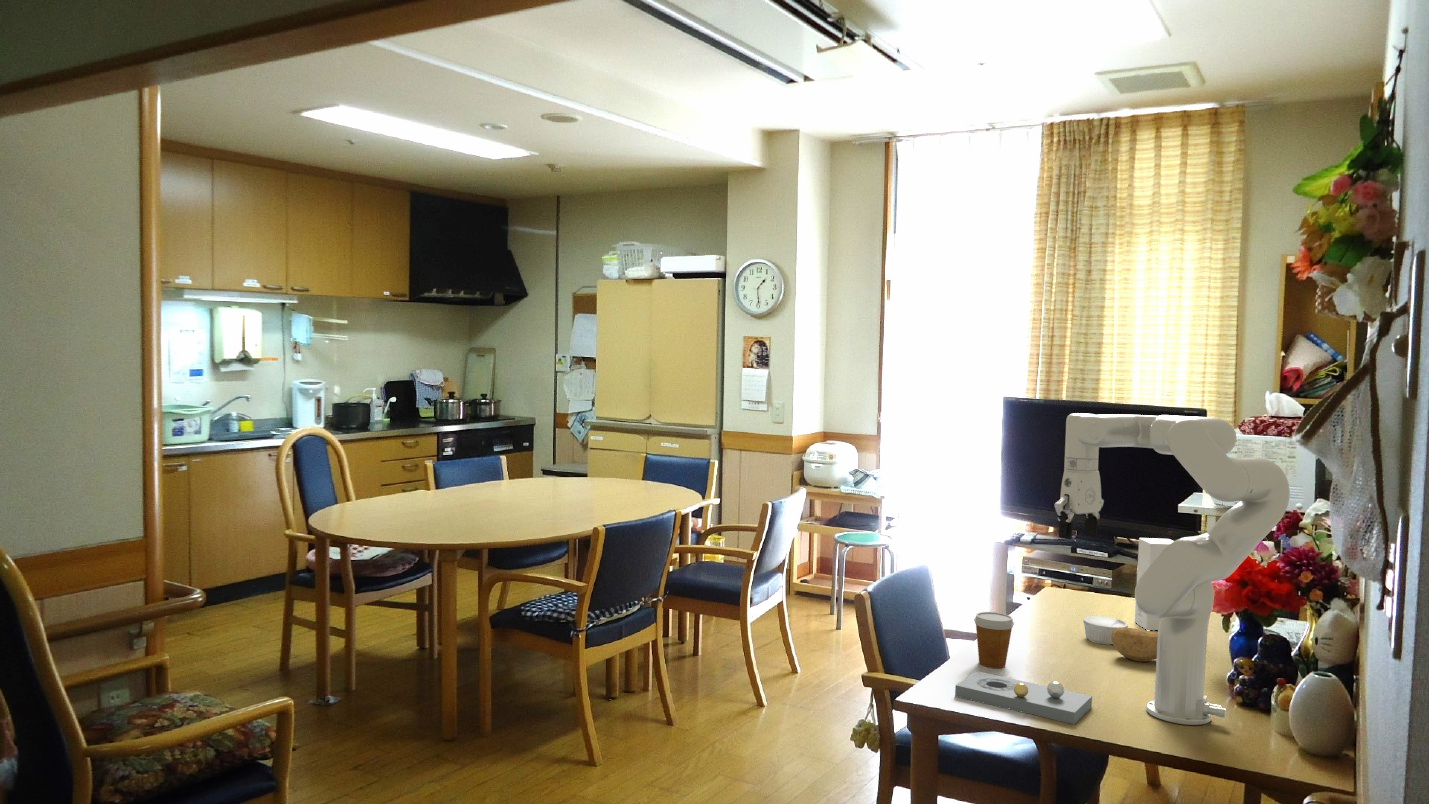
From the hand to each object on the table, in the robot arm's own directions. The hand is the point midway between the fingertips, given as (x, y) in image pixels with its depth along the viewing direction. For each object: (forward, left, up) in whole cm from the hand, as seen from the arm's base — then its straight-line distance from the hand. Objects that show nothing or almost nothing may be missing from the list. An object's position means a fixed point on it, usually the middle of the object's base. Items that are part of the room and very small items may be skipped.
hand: (1078, 536), depth 237 cm
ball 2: (-4, +26, -29) cm, 40 cm away
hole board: (+3, +26, -34) cm, 43 cm away
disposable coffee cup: (+18, +4, -34) cm, 39 cm away
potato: (-10, -25, -34) cm, 43 cm away
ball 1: (+2, +31, -30) cm, 43 cm away
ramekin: (+2, -38, -34) cm, 51 cm away
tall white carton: (-6, -62, -34) cm, 71 cm away
